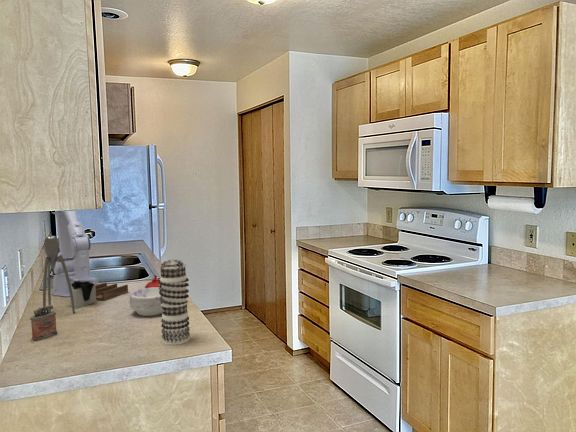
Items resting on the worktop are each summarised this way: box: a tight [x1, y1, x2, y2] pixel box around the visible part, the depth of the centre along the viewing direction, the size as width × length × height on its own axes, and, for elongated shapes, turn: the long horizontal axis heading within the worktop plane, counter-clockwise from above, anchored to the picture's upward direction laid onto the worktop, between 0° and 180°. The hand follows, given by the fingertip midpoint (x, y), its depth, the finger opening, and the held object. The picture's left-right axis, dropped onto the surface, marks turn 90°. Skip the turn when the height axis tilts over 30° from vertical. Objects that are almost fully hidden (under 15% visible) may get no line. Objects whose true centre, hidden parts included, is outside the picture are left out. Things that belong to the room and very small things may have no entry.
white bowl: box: [129, 287, 163, 317], centre depth 179 cm, size 15×15×8 cm
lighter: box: [30, 304, 58, 342], centre depth 154 cm, size 8×3×10 cm, turn 148°
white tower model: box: [158, 259, 191, 346], centre depth 148 cm, size 9×9×25 cm
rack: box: [94, 282, 129, 302], centre depth 205 cm, size 13×14×4 cm
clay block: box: [72, 284, 97, 309], centre depth 191 cm, size 2×10×7 cm, turn 156°
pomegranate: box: [144, 274, 162, 288], centre depth 201 cm, size 10×10×9 cm
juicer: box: [42, 235, 76, 315], centre depth 177 cm, size 10×11×30 cm
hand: (84, 299), depth 191 cm, fingers closed on clay block, 2 cm apart
